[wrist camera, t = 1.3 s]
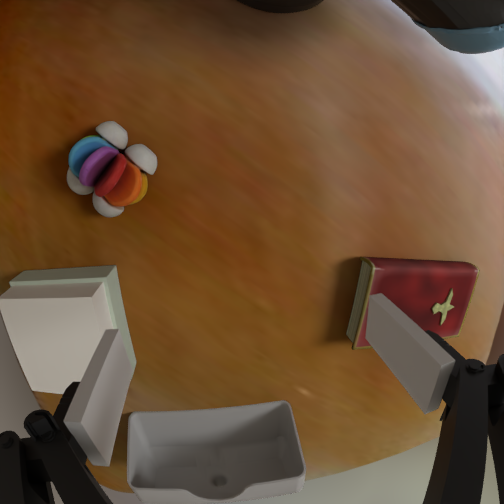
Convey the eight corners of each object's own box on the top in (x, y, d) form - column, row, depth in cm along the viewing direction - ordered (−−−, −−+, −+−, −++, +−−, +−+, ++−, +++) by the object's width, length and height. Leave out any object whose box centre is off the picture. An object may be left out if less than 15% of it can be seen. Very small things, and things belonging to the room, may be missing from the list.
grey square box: (23, 270, 33) (-8, 294, 26) (116, 265, 35) (95, 292, 27) (51, 359, 37) (30, 392, 30) (136, 362, 39) (125, 400, 32)
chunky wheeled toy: (124, 223, 34) (106, 239, 27) (65, 173, 31) (36, 178, 24) (170, 165, 33) (161, 166, 26) (108, 113, 30) (85, 104, 23)
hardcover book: (359, 254, 39) (374, 265, 35) (464, 260, 43) (481, 268, 39) (341, 334, 43) (353, 350, 39) (445, 325, 46) (459, 337, 42)
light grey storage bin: (153, 466, 46) (150, 519, 35) (128, 410, 42) (116, 472, 30) (286, 455, 49) (302, 507, 38) (289, 398, 45) (310, 459, 33)
